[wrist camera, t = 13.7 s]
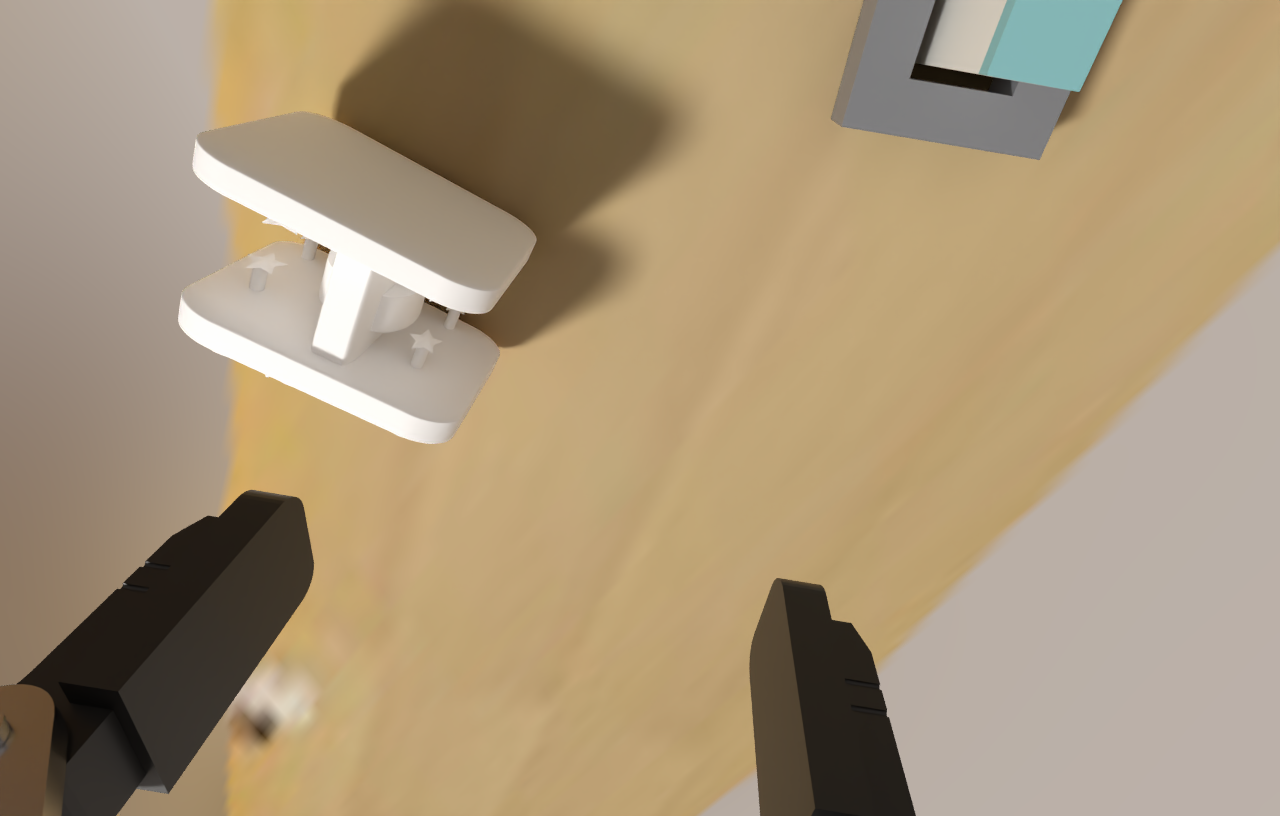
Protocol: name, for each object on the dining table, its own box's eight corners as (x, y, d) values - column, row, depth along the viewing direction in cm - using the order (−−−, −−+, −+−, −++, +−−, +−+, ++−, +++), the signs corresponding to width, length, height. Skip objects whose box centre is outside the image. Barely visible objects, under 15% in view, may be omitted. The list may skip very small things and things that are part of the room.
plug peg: (940, -22, 30) (1031, -40, 22) (1013, -9, 30) (1133, -22, 22) (912, 62, 32) (986, 75, 24) (981, 74, 32) (1079, 92, 24)
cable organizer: (559, 233, 38) (510, 305, 28) (497, 365, 43) (437, 465, 34) (320, 102, 36) (173, 131, 26) (284, 260, 41) (150, 335, 31)
